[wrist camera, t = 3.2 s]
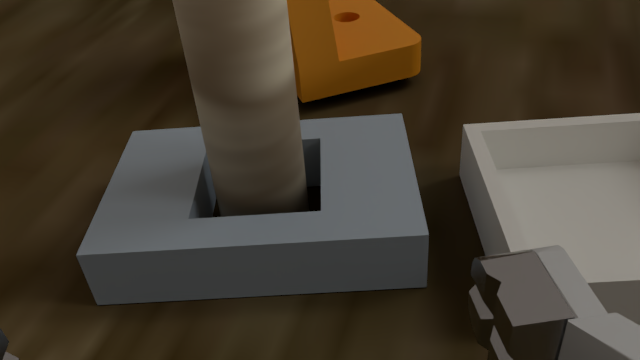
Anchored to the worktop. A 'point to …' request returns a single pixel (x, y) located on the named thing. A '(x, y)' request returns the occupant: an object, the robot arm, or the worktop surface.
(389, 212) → the block
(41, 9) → the worktop surface
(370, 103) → the worktop surface
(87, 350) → the worktop surface
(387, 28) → the bracket
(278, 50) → the dowel
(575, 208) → the tray
